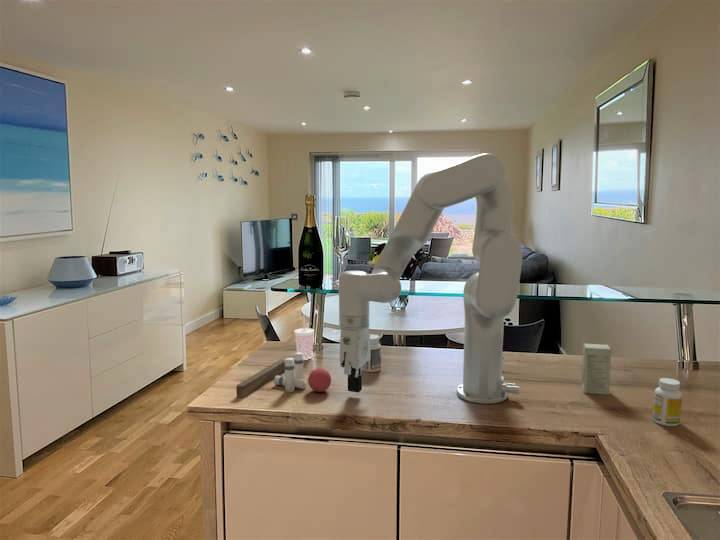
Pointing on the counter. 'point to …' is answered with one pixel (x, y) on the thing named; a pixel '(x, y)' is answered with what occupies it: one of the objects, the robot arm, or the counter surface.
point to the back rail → (260, 378)
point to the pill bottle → (374, 355)
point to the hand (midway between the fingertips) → (354, 390)
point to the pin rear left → (289, 375)
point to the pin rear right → (298, 365)
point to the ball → (319, 380)
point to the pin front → (298, 382)
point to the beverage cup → (304, 341)
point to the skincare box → (596, 368)
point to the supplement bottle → (667, 402)
